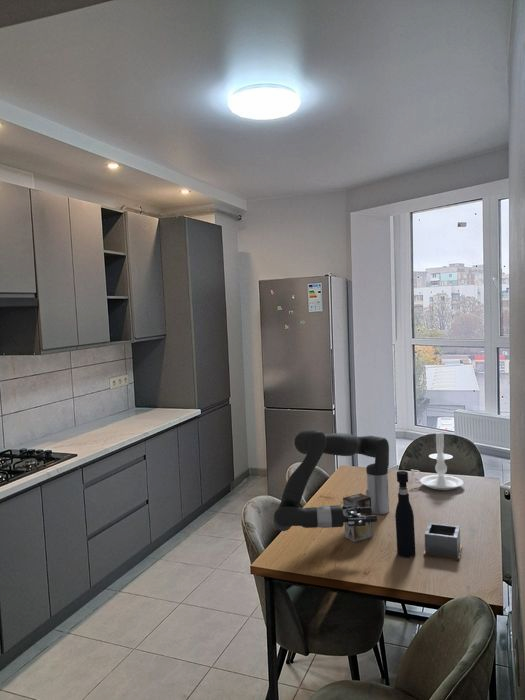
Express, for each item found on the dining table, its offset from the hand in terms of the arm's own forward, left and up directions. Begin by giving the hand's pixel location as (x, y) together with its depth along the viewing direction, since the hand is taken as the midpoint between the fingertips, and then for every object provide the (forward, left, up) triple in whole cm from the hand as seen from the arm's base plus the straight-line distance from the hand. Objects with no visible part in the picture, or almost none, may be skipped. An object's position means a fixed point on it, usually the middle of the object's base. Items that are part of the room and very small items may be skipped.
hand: (374, 514), depth 193 cm
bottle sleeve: (+22, +11, -15) cm, 29 cm away
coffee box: (-10, +14, -15) cm, 23 cm away
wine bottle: (+10, +5, -15) cm, 19 cm away
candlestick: (+11, +84, -16) cm, 86 cm away
